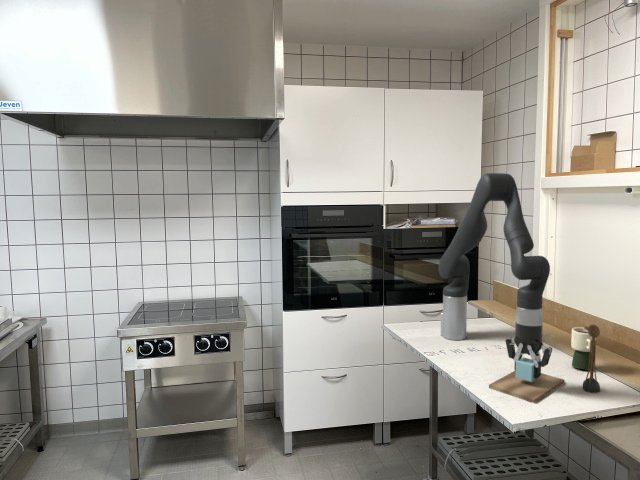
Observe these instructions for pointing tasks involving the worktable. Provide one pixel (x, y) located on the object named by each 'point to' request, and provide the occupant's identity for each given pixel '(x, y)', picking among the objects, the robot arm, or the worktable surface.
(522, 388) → the walnut board
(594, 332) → the wooden tabletop sculpture
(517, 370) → the teal cube
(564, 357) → the worktable surface
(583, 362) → the character mug
